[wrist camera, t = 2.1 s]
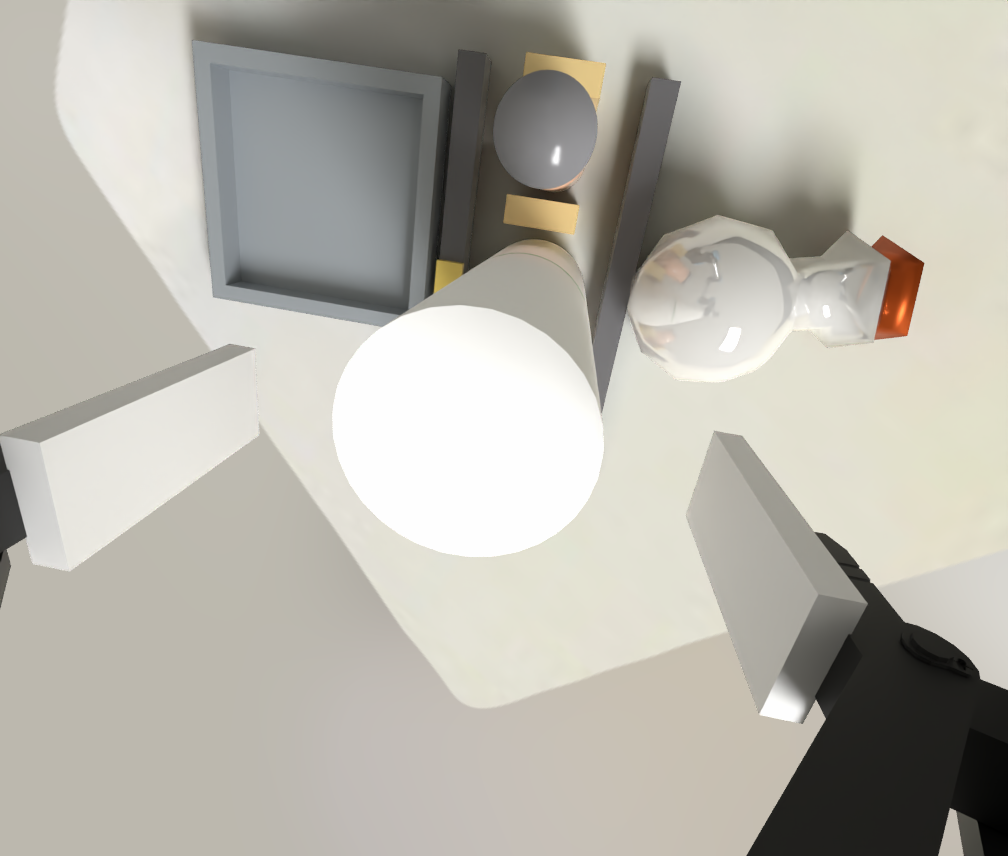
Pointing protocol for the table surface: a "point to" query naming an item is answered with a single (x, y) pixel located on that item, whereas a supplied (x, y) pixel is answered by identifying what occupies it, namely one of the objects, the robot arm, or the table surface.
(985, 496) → the table surface
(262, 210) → the tray
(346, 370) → the cylindrical container
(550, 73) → the cylinder
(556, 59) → the fuse holder
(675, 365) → the potion bottle
